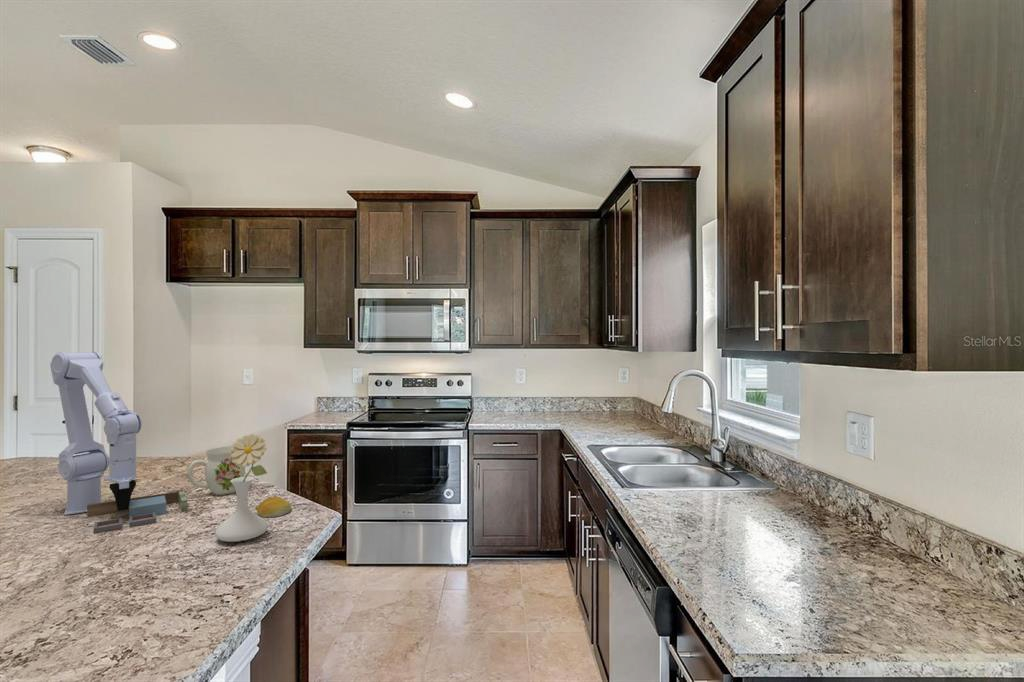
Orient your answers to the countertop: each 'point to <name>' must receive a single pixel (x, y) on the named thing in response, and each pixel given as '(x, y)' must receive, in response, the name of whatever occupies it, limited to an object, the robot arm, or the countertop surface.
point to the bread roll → (273, 507)
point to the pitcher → (218, 471)
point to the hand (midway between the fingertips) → (122, 509)
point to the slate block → (148, 506)
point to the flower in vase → (244, 492)
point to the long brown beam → (112, 507)
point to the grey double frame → (117, 523)
